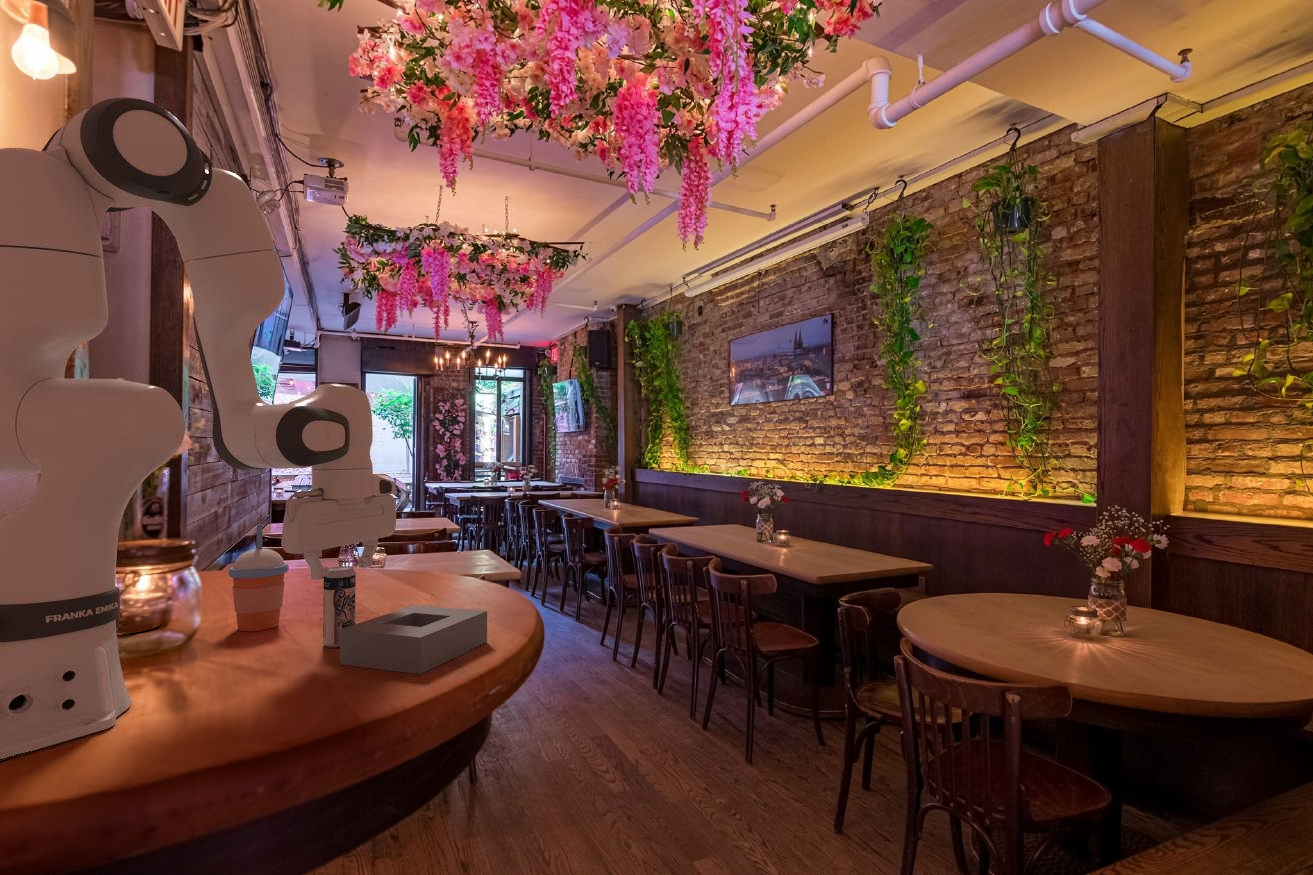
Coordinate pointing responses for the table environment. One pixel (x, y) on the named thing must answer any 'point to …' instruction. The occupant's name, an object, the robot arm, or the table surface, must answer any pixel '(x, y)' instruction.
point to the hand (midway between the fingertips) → (343, 572)
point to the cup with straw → (258, 587)
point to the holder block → (413, 638)
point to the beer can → (338, 603)
